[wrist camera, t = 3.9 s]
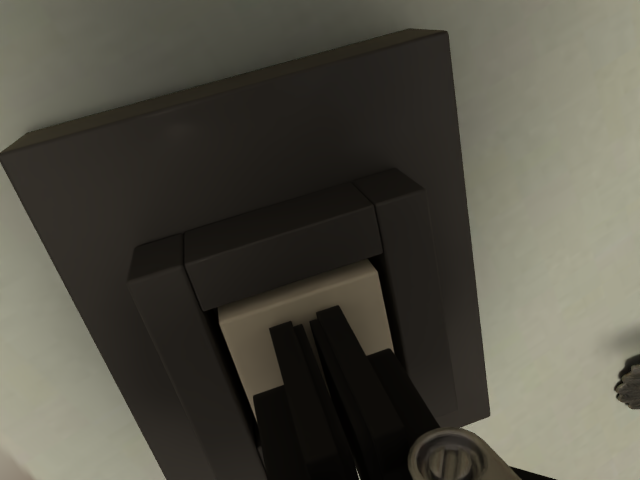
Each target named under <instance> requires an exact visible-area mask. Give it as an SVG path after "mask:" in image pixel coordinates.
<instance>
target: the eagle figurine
mask: <svg viewBox="0 0 640 480" xmlns="http://www.w3.org/2000/svg"><path fill="white" fill-rule="evenodd" d="M622 381H623V382H624V383H622V384H620V385H619V386H618V387H617V389H616V392H617V393H619V394H620V395H619V396H618V400H619V401H621V402H626V403H629V404H628V407H629V408H631V409H640V364H635V365H633V366H631V372H629V373H627V374H625V375H623V376H622Z"/></svg>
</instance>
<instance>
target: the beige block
mask: <svg viewBox="0 0 640 480" xmlns="http://www.w3.org/2000/svg"><path fill="white" fill-rule="evenodd" d="M336 305H339V306H340V308H341V310H342V312H343V314H344V315H345V317H346V319H347V321H348V323H349V325H350V327H351V328H352V330H353V332H354V334H355V336H356V338H357V340H358V341H359V343H360V345H361V347H362V349H363V351H364V352H365V354H366V356H367V355H370V354H373V353H376V352H379V351H381V350H384V349H387V348H390V349H391V350H392V351H393V353H394V348H393V343H392V339H391V334H390V329H389V324H388V319H387V314H386V310H385V305H384V300H383V295H382V290H381V285H380V280H379V276H378V272H377V270H376V269H375V268H374V266H373V265H372V264H371V262H370V261H369V260H368V259H364V260H361V261H358V262H355V263H352V264H348V265H345V266H342V267H339V268H336V269H333V270H330V271H327V272H324V273H321V274H318V275H315V276H312V277H309V278H305V279H302V280H299V281H296V282H293V283H290V284H287V285H284V286H281V287H278V288H275V289H272V290H269V291H266V292H262V293H259V294H256V295H253V296H250V297H247V298H244V299H241V300H238V301H235V302H232V303H229V304H226V305H222V306H219V307H217V308H218V317H219V325H220V327H221V330H222V333H223V335H224V338H225V340H226V343H227V346H228V348H229V351H230V353H231V356H232V359H233V361H234V364H235V367H236V369H237V372H238V374H239V377H240V380H241V382H242V385H243V387H244V390H245V393H246V395H247V398H248V400H249V403H250V406H251V408H252V411H253V413H254V416H255V419H256V413H255V408H254V402H253V395H256V394H259V393H261V392H264V391H267V390H270V389H273V388H276V387H279V386H281V385H284V383H283V379H282V375H281V372H280V368H279V364H278V361H277V357H276V353H275V350H274V346H273V342H272V339H271V335H270V331H269V328H271V327H274V326H277V325H280V324H283V323H286V322H289V321H292V324H293V327H294V326H297V325H300V324H302V325H303V327H304V330H305V332H306V335H307V337H308V340H309V343H310V345H311V348H312V350H313V353H314V355H315V358H316V361H317V363H318V366H319V368H320V371H321V374H322V376H323V379H324V381H325V384H326V387H327V389H328V386H327V382H326V379H325V375H324V372H323V368H322V365H321V361H320V358H319V354H318V351H317V347H316V344H315V341H314V337H313V334H312V330H311V327H310V323H309V321H311V320H314V319H317V315H316V312H318V311H321V310H324V309H327V308H330V307H333V306H336ZM394 354H395V353H394ZM328 392H329V389H328ZM329 394H330V392H329ZM330 397H331V396H330ZM256 421H257V419H256Z"/></svg>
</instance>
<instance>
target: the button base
mask: <svg viewBox="0 0 640 480" xmlns="http://www.w3.org/2000/svg"><path fill="white" fill-rule="evenodd" d="M0 162H1V164H2V166H3V168H4V170H5V172H6V174H7V176H8V178H9V180H10V181H11V183H12V185H13V187H14V189H15V191H16V193H17V195H18V197H19V199H20V201H21V202H22V204H23V206H24V208H25V210H26V212H27V214H28V216H29V218H30V220H31V222H32V223H33V225H34V227H35V229H36V231H37V233H38V235H39V237H40V239H41V241H42V243H43V245H44V246H45V248H46V250H47V252H48V254H49V256H50V258H51V260H52V262H53V264H54V266H55V267H56V269H57V271H58V273H59V275H60V277H61V279H62V281H63V283H64V285H65V287H66V288H67V290H68V292H69V294H70V296H71V298H72V300H73V302H74V304H75V306H76V308H77V309H78V311H79V313H80V315H81V317H82V319H83V321H84V323H85V325H86V327H87V329H88V331H89V332H90V334H91V336H92V338H93V340H94V342H95V344H96V346H97V348H98V350H99V352H100V353H101V355H102V357H103V359H104V361H105V363H106V365H107V367H108V369H109V371H110V373H111V374H112V376H113V378H114V380H115V382H116V384H117V386H118V388H119V390H120V392H121V394H122V395H123V397H124V399H125V401H126V403H127V405H128V407H129V409H130V411H131V413H132V415H133V416H134V418H135V420H136V422H137V424H138V426H139V428H140V430H141V432H142V434H143V436H144V438H145V439H146V441H147V443H148V445H149V447H150V449H151V451H152V453H153V455H154V457H155V459H156V460H157V462H158V464H159V466H160V468H161V470H162V472H163V474H164V476H165V478H166V480H267V475H266V469H265V463H264V458H263V452H262V447H261V441H260V436H259V430H258V425H257V421H256V419H255V416H254V413H253V411H252V408H251V406H250V403H249V400H248V398H247V395H246V393H245V390H244V387H243V385H242V382H241V380H240V377H239V374H238V372H237V369H236V367H235V364H234V361H233V359H232V356H231V353H230V351H229V348H228V346H227V343H226V340H225V338H224V335H223V333H222V330H221V327H220V325H219V317H218V308H217V307H219V306H222V305H226V304H229V303H232V302H235V301H238V300H241V299H244V298H247V297H250V296H253V295H256V294H259V293H262V292H266V291H269V290H272V289H275V288H278V287H281V286H284V285H287V284H290V283H293V282H296V281H299V280H302V279H305V278H309V277H312V276H315V275H318V274H321V273H324V272H327V271H330V270H333V269H336V268H339V267H342V266H345V265H348V264H352V263H355V262H358V261H361V260H364V259H368V260H369V261H370V262H371V264H372V265H373V266H374V268H375V269H376V270H377V272H378V276H379V280H380V285H381V290H382V295H383V300H384V305H385V310H386V314H387V319H388V324H389V329H390V334H391V339H392V343H393V348H394V353H395V356H396V357H397V359H398V360H399V362H400V364H401V365H402V367H403V368H404V370H405V372H406V373H407V375H408V376H409V378H410V379H411V381H412V383H413V384H414V386H415V387H416V389H417V391H418V392H419V394H420V395H421V397H422V399H423V400H424V402H425V403H426V405H427V407H428V408H429V410H430V411H431V413H432V415H433V416H434V418H435V419H436V421H437V423H438V424H439V426H440V427H441V428H443V427H456V428H460V427H463V426H465V425H468V424H471V423H473V422H476V421H479V420H481V419H484V418H487V417H489V416H490V407H489V398H488V389H487V380H486V371H485V362H484V353H483V343H482V334H481V325H480V316H479V307H478V298H477V289H476V280H475V271H474V262H473V253H472V244H471V235H470V226H469V216H468V207H467V198H466V189H465V180H464V171H463V162H462V153H461V144H460V135H459V126H458V117H457V108H456V99H455V89H454V80H453V71H452V62H451V53H450V44H449V35H448V32H447V31H444V30H427V29H406V30H402V31H398V32H395V33H391V34H387V35H384V36H380V37H376V38H373V39H369V40H365V41H362V42H358V43H354V44H351V45H347V46H343V47H340V48H336V49H332V50H329V51H325V52H321V53H318V54H314V55H310V56H307V57H303V58H299V59H296V60H292V61H288V62H285V63H281V64H277V65H274V66H270V67H266V68H263V69H259V70H255V71H252V72H248V73H244V74H241V75H237V76H233V77H230V78H226V79H222V80H219V81H215V82H211V83H208V84H204V85H200V86H197V87H193V88H189V89H186V90H182V91H178V92H175V93H171V94H167V95H164V96H160V97H156V98H152V99H149V100H145V101H141V102H138V103H134V104H130V105H127V106H123V107H119V108H116V109H112V110H108V111H105V112H101V113H97V114H94V115H90V116H86V117H83V118H79V119H75V120H72V121H68V122H64V123H61V124H57V125H53V126H50V127H46V128H42V129H39V130H35V131H31V132H28V133H26V134H25V135H23V136H22V137H21V138H19V139H18V140H17V141H15V142H14V143H13V144H11V145H10V146H9V147H7V148H6V149H5V150H3V151H2V152H1V153H0ZM355 467H356V466H355Z"/></svg>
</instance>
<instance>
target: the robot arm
mask: <svg viewBox="0 0 640 480" xmlns="http://www.w3.org/2000/svg"><path fill="white" fill-rule="evenodd" d="M316 315H317V319H314V320H311V321H309V323H310V327H311V330H312V334H313V337H314V341H315V344H316V347H317V351H318V354H319V358H320V361H321V365H322V368H323V372H324V375H325V379H326V382H327V386H328V389H329V392H330V394H329V392H328V389H327V387H326V384H325V381H324V379H323V376H322V374H321V371H320V368H319V366H318V363H317V361H316V358H315V355H314V353H313V350H312V348H311V345H310V343H309V340H308V337H307V335H306V332H305V330H304V327H303V325H302V324H300V325H297V326H294V327H293V324H292V321H289V322H286V323H283V324H280V325H277V326H274V327H271V328H269V331H270V335H271V339H272V342H273V346H274V350H275V353H276V357H277V361H278V364H279V368H280V372H281V375H282V379H283V383H284V385H281V386H279V387H276V388H273V389H270V390H267V391H264V392H261V393H259V394H256V395H253V402H254V408H255V413H256V419H257V425H258V430H259V436H260V441H261V447H262V452H263V458H264V463H265V469H266V475H267V480H359V477H360V479H361V480H556V479H552V478H549V477H545V476H542V475H538V474H535V473H531V472H528V471H524V470H521V469H517V468H514V467H510V466H508V465H507V464H506V463H505V462H504V461H503V460H502V459H501V458H500V457H499V456H498V454H497V453H496V452H495V451H494V450H493V449H492V448H491V447H490V446H489V445H488V444H487V443H486V442H485V441H484V440H483V439H481V438H480V437H479V436H477V435H476V434H475V433H473V432H470V431H468V430H465V429H463V428H456V427H443V428H441V427H440V426H439V424H438V423H437V421H436V419H435V418H434V416H433V415H432V413H431V411H430V410H429V408H428V407H427V405H426V403H425V402H424V400H423V399H422V397H421V395H420V394H419V392H418V391H417V389H416V387H415V386H414V384H413V383H412V381H411V379H410V378H409V376H408V375H407V373H406V372H405V370H404V368H403V367H402V365H401V364H400V362H399V360H398V359H397V357H396V356H395V354H394V353H393V351H392V350H391V349H390V348H387V349H384V350H381V351H379V352H376V353H373V354H370V355H367V356H366V354H365V352H364V351H363V349H362V347H361V345H360V343H359V341H358V340H357V338H356V336H355V334H354V332H353V330H352V328H351V327H350V325H349V323H348V321H347V319H346V317H345V315H344V314H343V312H342V310H341V308H340V306H339V305H336V306H333V307H330V308H327V309H324V310H321V311H318V312H316ZM330 396H331V397H330ZM355 466H356V467H355ZM356 469H357V470H356ZM357 471H358V474H359V477H358V474H357Z"/></svg>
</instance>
